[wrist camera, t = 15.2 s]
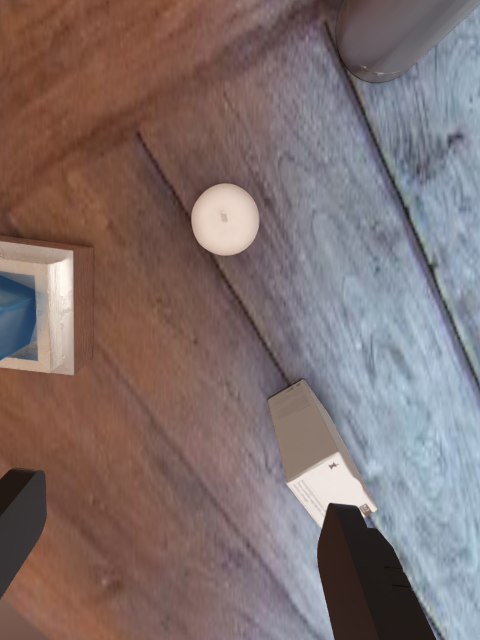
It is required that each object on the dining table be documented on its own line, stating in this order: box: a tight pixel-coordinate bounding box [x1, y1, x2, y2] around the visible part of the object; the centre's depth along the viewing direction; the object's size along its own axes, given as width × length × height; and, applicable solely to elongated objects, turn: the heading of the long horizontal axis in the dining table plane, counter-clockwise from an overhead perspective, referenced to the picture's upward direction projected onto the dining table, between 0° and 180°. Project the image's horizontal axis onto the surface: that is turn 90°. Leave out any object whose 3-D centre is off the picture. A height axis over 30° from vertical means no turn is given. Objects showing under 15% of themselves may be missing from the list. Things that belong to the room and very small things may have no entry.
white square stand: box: [0, 235, 94, 375], centre depth 37 cm, size 14×14×8 cm
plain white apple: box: [191, 183, 259, 256], centre depth 34 cm, size 7×7×8 cm
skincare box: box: [268, 379, 377, 529], centre depth 38 cm, size 8×6×15 cm
